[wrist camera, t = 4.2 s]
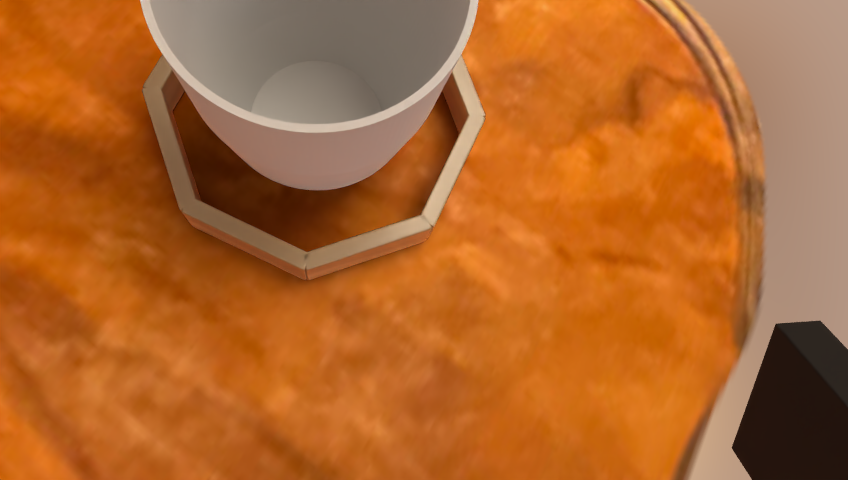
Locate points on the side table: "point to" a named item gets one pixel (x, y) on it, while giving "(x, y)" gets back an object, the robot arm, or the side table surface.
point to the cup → (312, 77)
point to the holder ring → (161, 101)
